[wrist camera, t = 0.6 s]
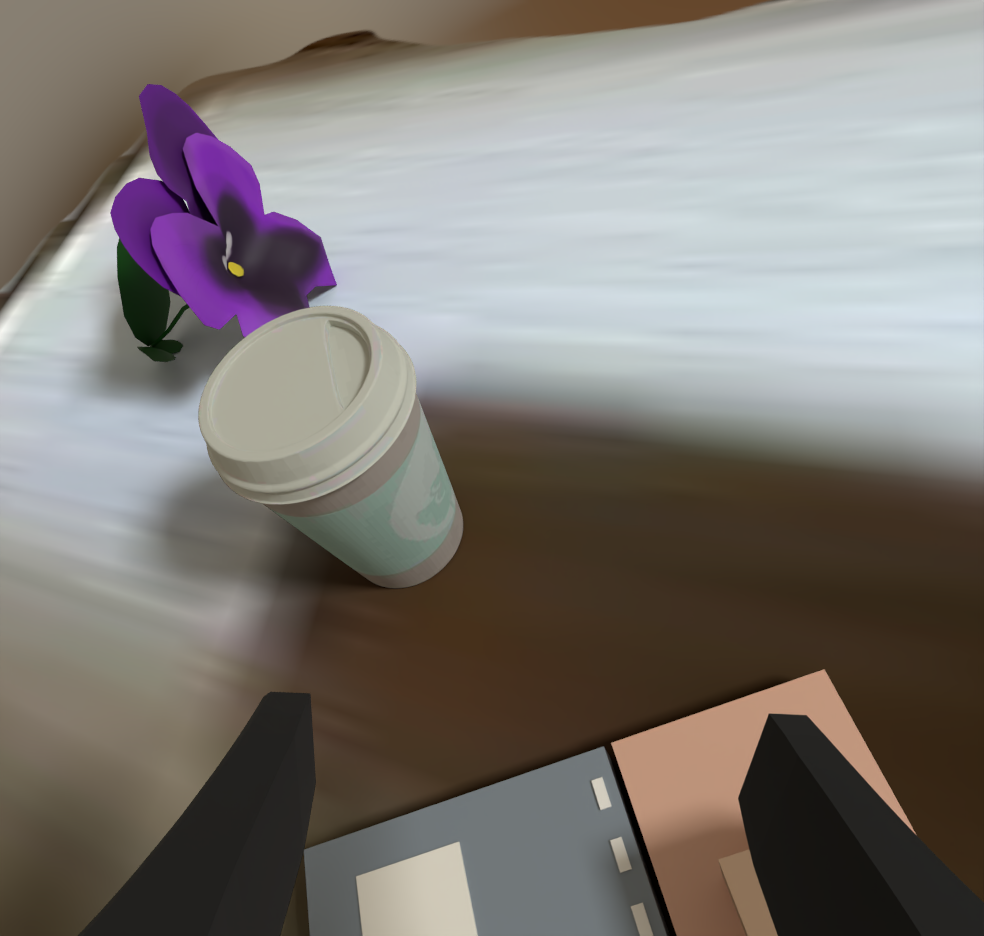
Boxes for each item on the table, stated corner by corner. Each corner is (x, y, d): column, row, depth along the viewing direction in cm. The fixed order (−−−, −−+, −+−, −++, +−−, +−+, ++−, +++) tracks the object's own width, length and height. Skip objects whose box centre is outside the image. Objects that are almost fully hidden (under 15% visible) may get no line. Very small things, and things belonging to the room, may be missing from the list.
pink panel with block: (1074, 1145, 19) (1167, 1192, 15) (780, 1229, 20) (787, 1297, 16) (821, 683, 27) (833, 625, 23) (617, 753, 28) (592, 710, 24)
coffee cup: (461, 629, 33) (344, 485, 23) (302, 601, 36) (143, 464, 27) (510, 469, 37) (428, 292, 28) (365, 457, 40) (246, 295, 31)
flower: (223, 475, 50) (344, 379, 42) (-22, 368, 41) (76, 223, 34) (258, 324, 58) (364, 222, 51) (62, 208, 50) (154, 64, 42)
